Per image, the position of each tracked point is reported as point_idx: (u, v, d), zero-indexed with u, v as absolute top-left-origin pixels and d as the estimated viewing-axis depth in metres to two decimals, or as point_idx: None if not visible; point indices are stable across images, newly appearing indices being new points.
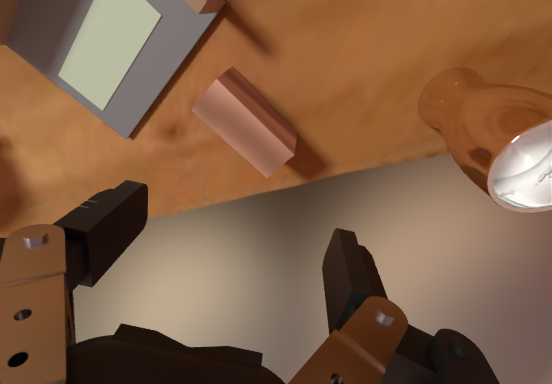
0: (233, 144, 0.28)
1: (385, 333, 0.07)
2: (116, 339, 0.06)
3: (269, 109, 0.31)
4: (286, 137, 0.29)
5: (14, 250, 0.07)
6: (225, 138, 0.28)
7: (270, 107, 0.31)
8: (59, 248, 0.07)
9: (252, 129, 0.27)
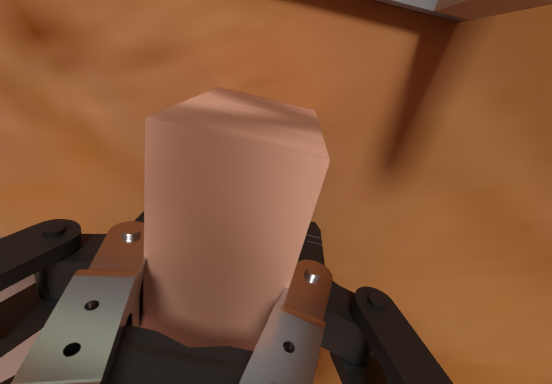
0: (154, 293, 0.08)
1: (316, 290, 0.08)
2: None
3: None
4: None
5: (111, 241, 0.08)
6: (150, 267, 0.08)
7: None
8: None
9: (239, 318, 0.08)
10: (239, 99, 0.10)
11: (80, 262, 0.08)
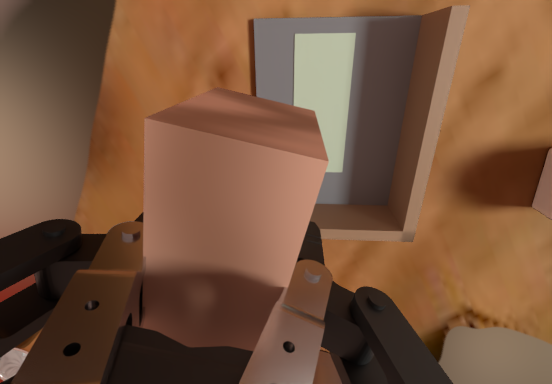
0: (153, 293, 0.08)
1: (316, 290, 0.08)
2: None
3: None
4: None
5: (112, 241, 0.08)
6: (149, 267, 0.08)
7: None
8: None
9: (238, 319, 0.08)
10: (238, 99, 0.10)
11: (80, 263, 0.08)
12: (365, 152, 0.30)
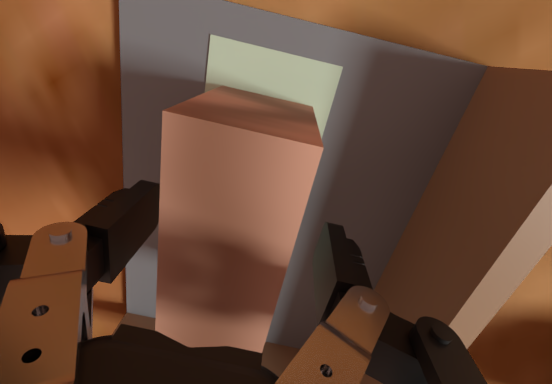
0: (167, 271, 0.09)
1: (369, 321, 0.07)
2: (116, 339, 0.06)
3: None
4: None
5: (39, 246, 0.07)
6: (164, 246, 0.09)
7: None
8: (83, 245, 0.08)
9: (243, 294, 0.09)
10: (242, 96, 0.11)
11: None
12: None
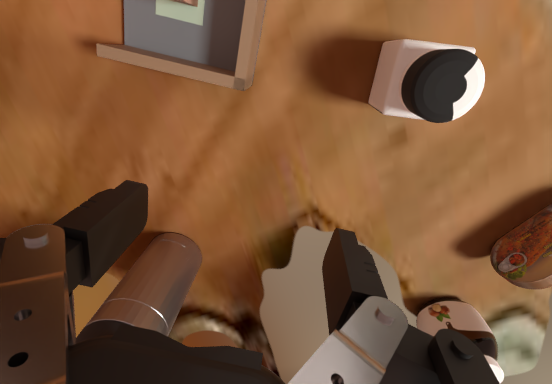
0: None
1: (385, 333, 0.07)
2: (116, 340, 0.06)
3: None
4: None
5: (14, 250, 0.07)
6: None
7: None
8: (59, 248, 0.07)
9: None
10: None
11: None
12: (224, 8, 0.32)
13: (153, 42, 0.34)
